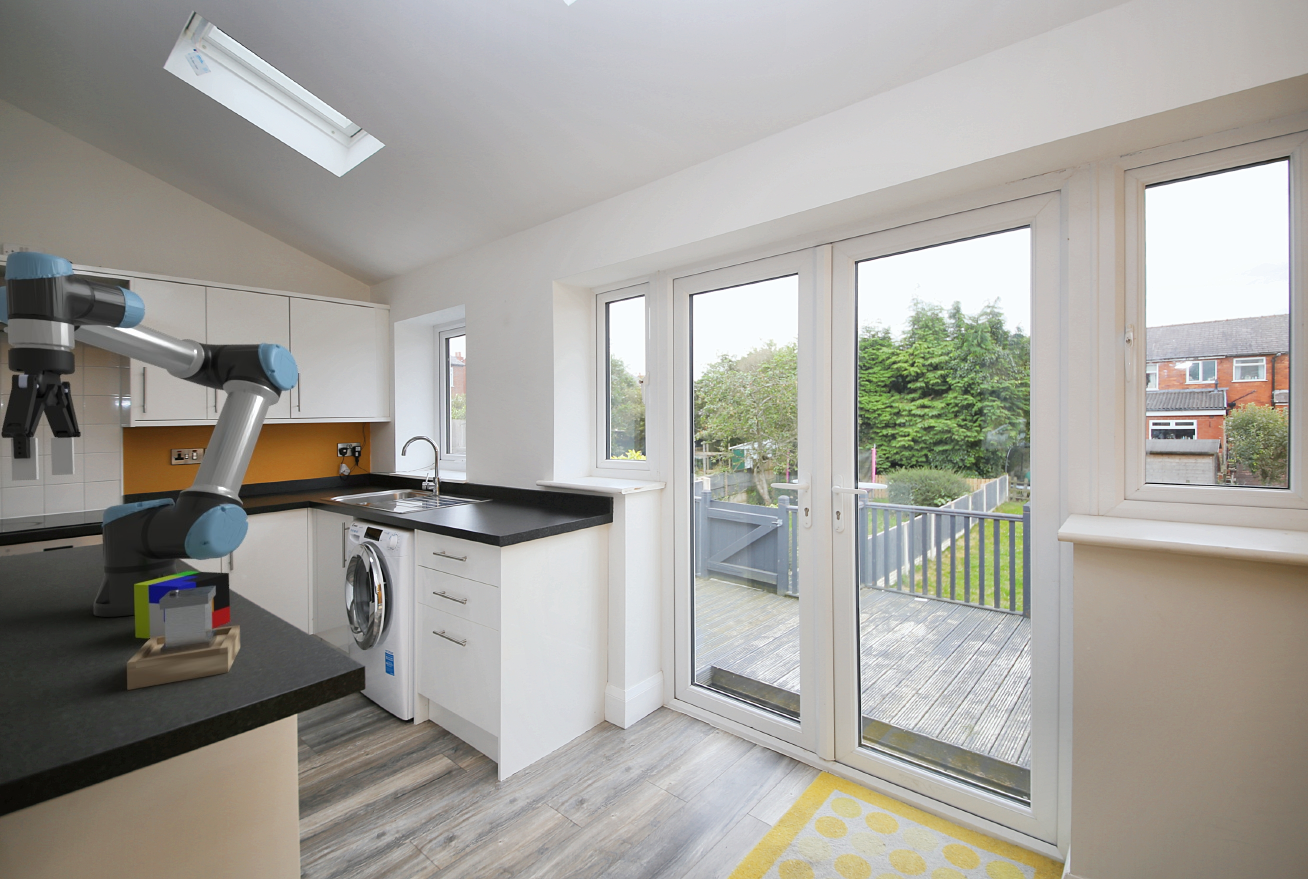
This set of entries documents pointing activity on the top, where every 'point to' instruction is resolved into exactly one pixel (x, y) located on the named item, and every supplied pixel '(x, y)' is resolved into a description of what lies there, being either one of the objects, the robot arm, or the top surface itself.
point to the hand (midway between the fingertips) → (45, 477)
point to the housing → (188, 620)
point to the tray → (182, 660)
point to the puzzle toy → (152, 591)
